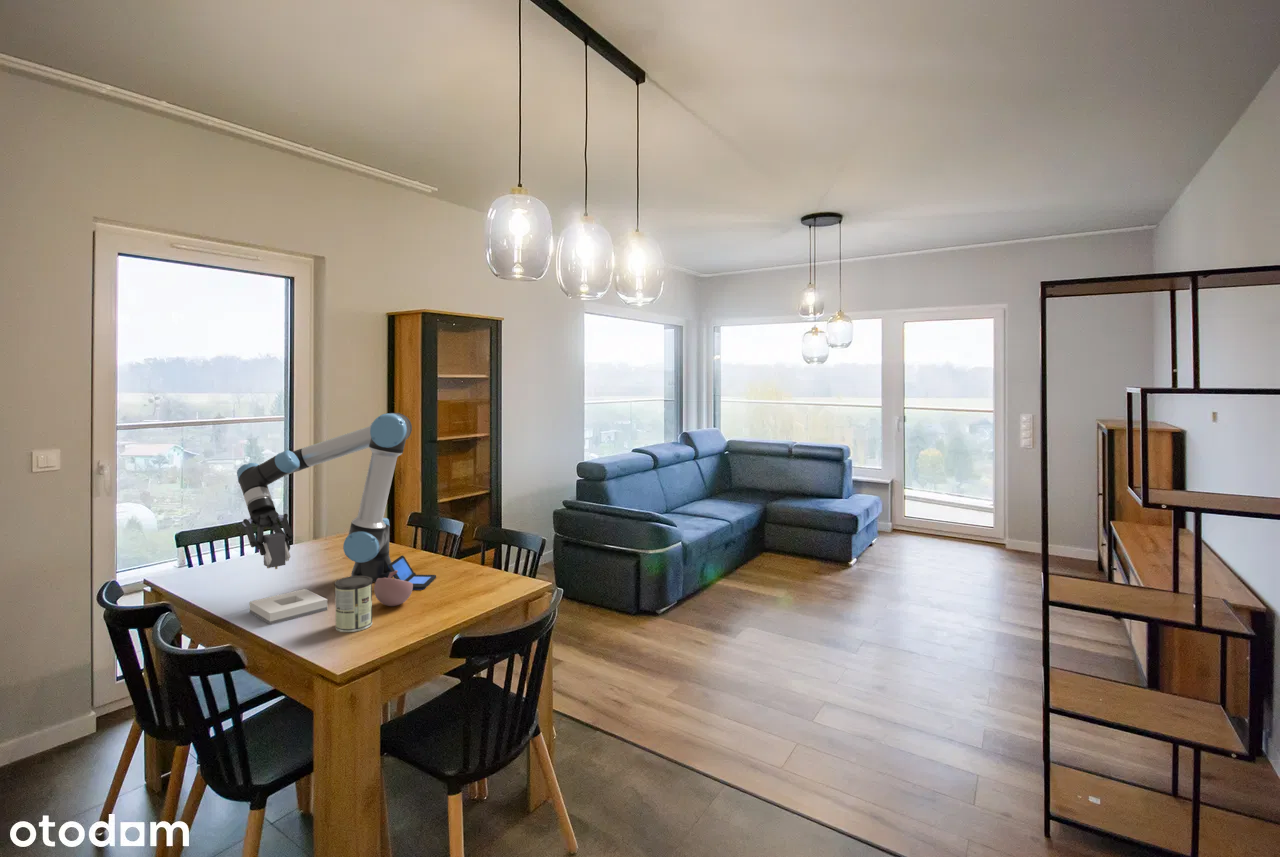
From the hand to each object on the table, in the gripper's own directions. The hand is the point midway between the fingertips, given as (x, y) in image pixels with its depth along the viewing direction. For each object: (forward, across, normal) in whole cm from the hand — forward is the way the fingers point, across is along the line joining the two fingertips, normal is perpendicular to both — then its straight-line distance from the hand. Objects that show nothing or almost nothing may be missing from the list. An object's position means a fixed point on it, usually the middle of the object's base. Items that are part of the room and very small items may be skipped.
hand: (278, 560), depth 196 cm
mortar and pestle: (+28, -27, +5) cm, 39 cm away
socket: (+15, -1, -8) cm, 17 cm away
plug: (0, 0, -5) cm, 5 cm away
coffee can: (+34, -9, +12) cm, 37 cm away
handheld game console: (+17, -43, -7) cm, 47 cm away
